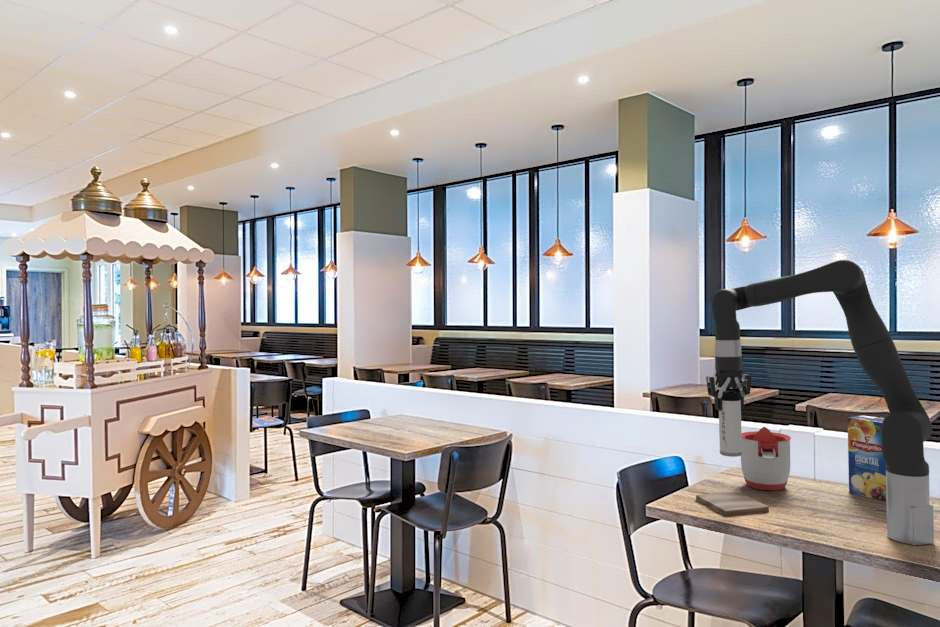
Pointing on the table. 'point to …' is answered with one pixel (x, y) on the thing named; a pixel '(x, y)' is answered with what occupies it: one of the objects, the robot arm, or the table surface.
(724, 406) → the travel mug
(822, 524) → the table surface
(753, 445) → the citrus juicer
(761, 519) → the table surface
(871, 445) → the juice carton
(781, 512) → the table surface
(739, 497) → the walnut board
